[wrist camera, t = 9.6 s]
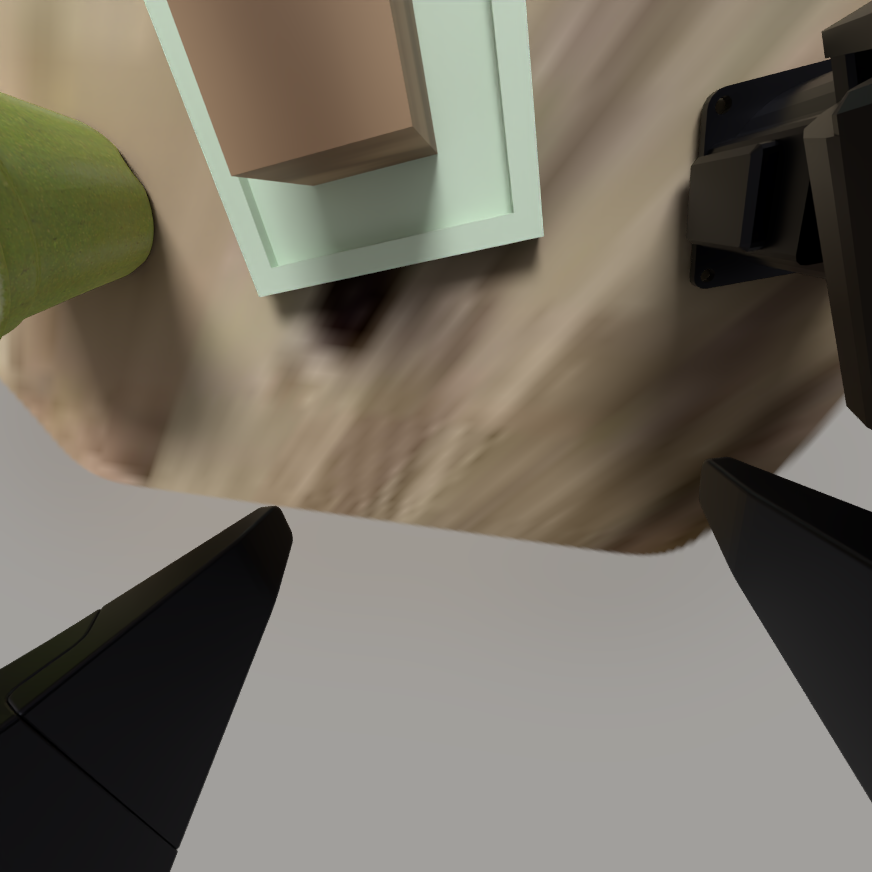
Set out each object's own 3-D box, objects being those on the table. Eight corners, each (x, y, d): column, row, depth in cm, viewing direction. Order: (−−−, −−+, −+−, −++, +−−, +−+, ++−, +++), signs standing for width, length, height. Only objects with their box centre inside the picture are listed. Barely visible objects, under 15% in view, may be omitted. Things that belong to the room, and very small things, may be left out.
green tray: (500, -240, 11) (502, -297, 10) (539, 234, 17) (543, 236, 16) (137, -82, 14) (100, -112, 12) (274, 291, 19) (259, 297, 18)
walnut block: (406, -34, 13) (353, -195, 8) (437, 154, 15) (412, 126, 10) (264, 16, 14) (130, -98, 9) (313, 186, 16) (231, 176, 11)
